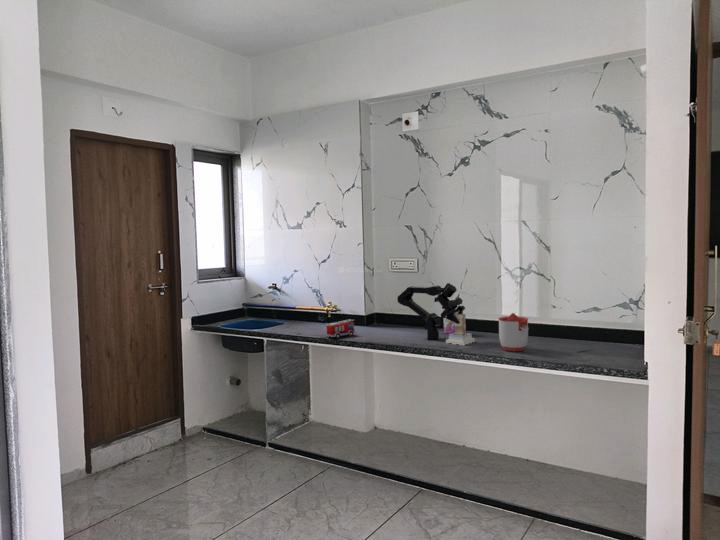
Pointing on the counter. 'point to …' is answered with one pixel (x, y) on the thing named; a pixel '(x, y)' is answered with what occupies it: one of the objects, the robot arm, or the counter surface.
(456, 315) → the birch block
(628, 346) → the counter surface
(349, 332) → the toy fire truck
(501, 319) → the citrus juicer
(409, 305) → the robot arm
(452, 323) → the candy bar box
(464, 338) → the tower base
